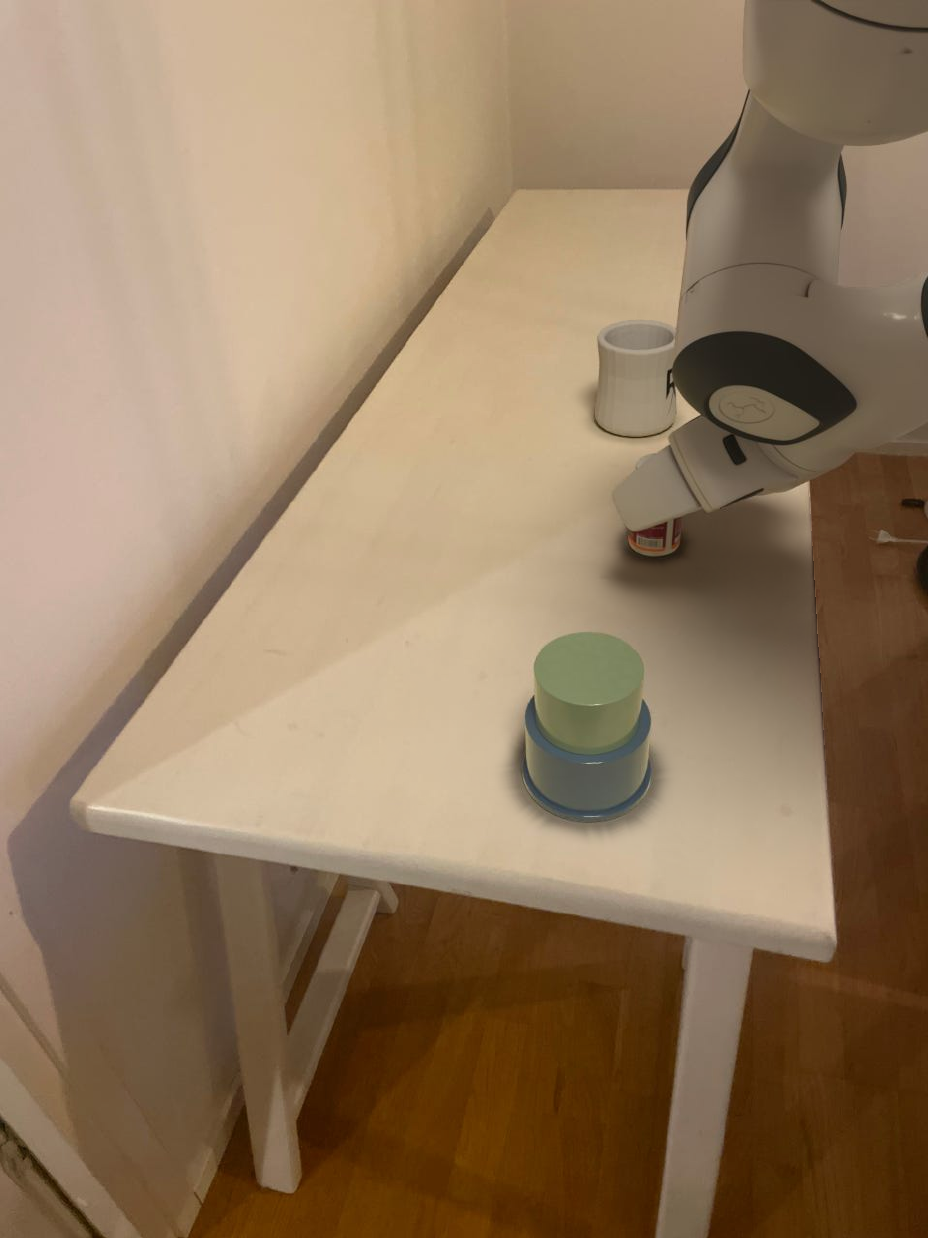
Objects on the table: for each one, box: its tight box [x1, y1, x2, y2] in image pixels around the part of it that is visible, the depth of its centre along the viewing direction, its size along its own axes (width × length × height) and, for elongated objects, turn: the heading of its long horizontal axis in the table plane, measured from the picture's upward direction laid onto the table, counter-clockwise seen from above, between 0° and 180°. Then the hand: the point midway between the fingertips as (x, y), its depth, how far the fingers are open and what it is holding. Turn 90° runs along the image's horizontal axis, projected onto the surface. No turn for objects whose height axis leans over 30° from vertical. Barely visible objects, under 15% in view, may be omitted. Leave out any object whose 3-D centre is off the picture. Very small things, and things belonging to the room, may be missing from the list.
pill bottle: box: [627, 452, 683, 557], centre depth 85 cm, size 5×5×8 cm
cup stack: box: [521, 631, 652, 823], centre depth 63 cm, size 9×9×10 cm
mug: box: [594, 319, 678, 438], centre depth 104 cm, size 12×9×10 cm
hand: (670, 491), depth 82 cm, fingers open, 8 cm apart
